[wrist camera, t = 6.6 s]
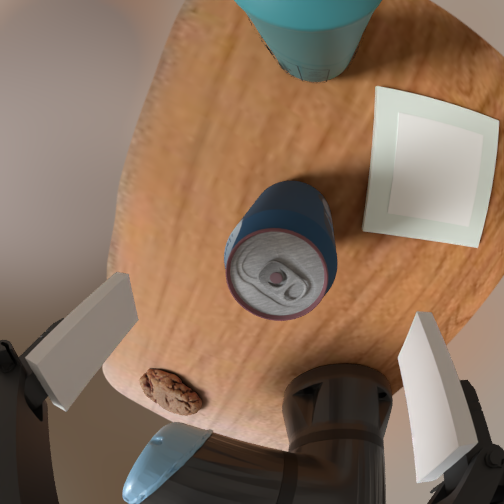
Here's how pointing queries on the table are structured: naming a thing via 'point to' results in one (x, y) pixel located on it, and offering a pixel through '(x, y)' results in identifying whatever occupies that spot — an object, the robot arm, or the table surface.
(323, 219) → the soda can
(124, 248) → the table surface
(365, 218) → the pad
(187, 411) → the cookie
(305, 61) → the beverage bottle
